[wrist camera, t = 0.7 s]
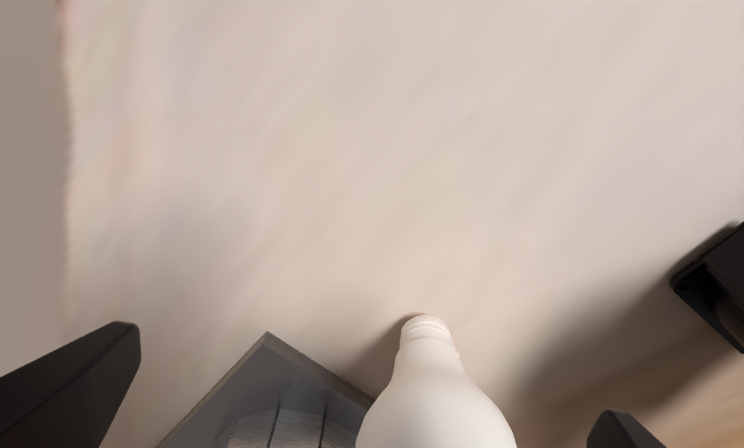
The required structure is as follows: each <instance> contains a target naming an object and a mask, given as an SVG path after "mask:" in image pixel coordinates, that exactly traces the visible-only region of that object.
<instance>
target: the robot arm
mask: <svg viewBox="0 0 744 448" xmlns="http://www.w3.org/2000/svg"><path fill="white" fill-rule="evenodd" d="M684 282H685V284H684V285H682V286H680V284H681V283H684ZM669 286H670V287H671V289H672V290H673V291H674V292H675V293H676V294H677V295H678V296H679V297H680V298H681V299H682V300H684V301H685V302H686V303H687V304H688V305H689V306H690V307H691V308H692V309H693V310H694V311H696V312H697V313H698V314H699V315H700V316H701V317H702V318H703V319H704V320H705V321H706V322H708V323H709V324H710V325H711V326H712V327H713V328H714V329H715V330H716V331H717V332H718V333H720V334H721V335H722V336H723V337H724V338H725V339H726V340H727V341H728V342H729V343H730V344H732V345H733V346H734V347H735V348H736V349H737V350H738V351H739V352H740V353H742V354H744V226H743V227H741V228H740V229H739V230H737V231H736V232H734V233H733V234H732V235H730V236H729V237H728V238H726V239H725V240H723V241H722V242H721V243H719V244H718V245H716V246H715V247H714V248H712V249H711V250H709V251H708V252H707V253H705V254H704V255H703V256H701V257H700V258H698V259H697V260H696V261H694V262H693V263H691V264H690V265H689V266H687V267H686V268H684V269H683V270H682V271H680V272H679V273H677V274H676V275H675V276H673V277H672V278H671V280H670V282H669ZM140 362H141V346H140V331H139V327H138V326H137V325H136V324H134V323H129V322H123V321H113V322H111V323H109V324H107V325H105V326H103V327H101V328H99V329H97V330H95V331H93V332H91V333H89V334H87V335H85V336H83V337H81V338H79V339H76V340H74V341H72V342H70V343H68V344H66V345H64V346H62V347H60V348H58V349H56V350H55V351H52V352H50V353H48V354H46V355H44V356H42V357H40V358H38V359H36V360H34V361H32V362H30V363H28V364H26V365H24V366H22V367H20V368H18V369H16V370H14V371H12V372H10V373H8V374H6V375H4V376H2V377H0V448H99V446H100V444H101V442H102V440H103V439H104V437H105V435H106V433H107V431H108V429H109V427H110V425H111V423H112V421H113V419H114V417H115V415H116V413H117V411H118V409H119V407H120V405H121V403H122V401H123V399H124V397H125V395H126V393H127V391H128V389H129V387H130V385H131V383H132V381H133V379H134V377H135V375H136V373H137V371H138V368H139V365H140ZM586 448H666V447H665V446H664V445H663V444H662V443H661V442H660V441H659V440H658V439H656V438H655V437H654V436H653V435H652V434H651V433H650V432H649V431H648V430H647V429H646V428H645V427H643V426H642V425H641V424H640V423H639V422H638V421H637V420H636V419H635V418H634V417H633V416H631V415H630V414H629V413H627V412H625V411H621V410H615V409H610V408H606V409H604V410H602V411H601V413H600V415H599V416H598V418H597V420H596V422H595V424H594V426H593V427H592V429H591V431H590V433H589V435H588V437H587V443H586Z"/></svg>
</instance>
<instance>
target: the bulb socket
mask: <svg viewBox="0 0 744 448" xmlns="http://www.w3.org/2000/svg"><path fill="white" fill-rule="evenodd" d="M374 402H375V401H374V400H373V399H371V398H370V397H368V396H367V395H365V394H364V393H362V392H360V391H359V390H357V389H356V388H354V387H353V386H351V385H350V384H348V383H347V382H345V381H343V380H342V379H340V378H339V377H337V376H336V375H334V374H333V373H331V372H329V371H328V370H326V369H325V368H323V367H322V366H320V365H319V364H317V363H316V362H314V361H312V360H311V359H309V358H308V357H306V356H305V355H303V354H302V353H300V352H298V351H297V350H295V349H294V348H292V347H291V346H289V345H288V344H286V343H285V342H283V341H281V340H280V339H278V338H277V337H275V336H274V335H272V334H271V333H269V332H266V333H265V334H264V335H263V336H262V337H261V338H260V339H259V340H258V342H257V343H256V344H255V345H254V346H253V347H252V348H251V349H250V350H249V351H248V352H247V353H246V354H245V355H244V356H243V357H242V358H241V359H240V360H239V362H238V363H237V364H236V365H235V366H234V367H233V368H232V369H231V370H230V371H229V372H228V373H227V374H226V375H225V376H224V377H223V378H222V379H221V380H220V382H219V383H218V384H217V385H216V386H215V387H214V388H213V389H212V390H211V391H210V392H209V393H208V394H207V395H206V396H205V397H204V398H203V399H202V400H201V402H200V403H199V404H198V405H197V406H196V407H195V408H194V409H193V410H192V411H191V412H190V413H189V414H188V415H187V416H186V417H185V418H184V419H183V420H182V422H181V423H180V424H179V425H178V426H177V427H176V428H175V429H174V430H173V431H172V432H171V433H170V434H169V435H168V436H167V437H166V438H165V439H164V440H163V441H162V443H161V444H160V445H159V446H158V447H157V448H355V446H356V439H357V436H358V434H359V431H360V428H361V425H362V422H363V420H364V417H365V415H366V414H367V412H368V411H369V409H370V408H371V407H372V405H373V404H374Z"/></svg>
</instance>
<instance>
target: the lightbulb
mask: <svg viewBox="0 0 744 448" xmlns="http://www.w3.org/2000/svg"><path fill="white" fill-rule="evenodd" d="M355 448H517V446H516V442H515V439H514V435H513V432H512V430H511V428H510V427H509V425H508V423H507V421H506V419H505V418H504V416H503V414H502V413H501V411H500V410H499V408H498V407H497V406H496V405H495V404H494V403H493V402H492V401H491V400H490V399H489V398H488V397H487V396H486V395H485V394H484V393H483V392H482V391H481V390H480V389H479V388H478V387H477V386H476V385H474V384H473V383H472V382H471V381H470V380H469V378H468V377H467V376H466V373H465V371H464V369H463V366H462V363H461V359H460V356H459V354H458V352H457V351H456V349H455V348H454V347H453V343H452V338H451V335H450V332H449V329H448V326H447V325H446V323H445V322H444V321H442V320H441V319H439V318H437V317H435V316H431V315H420V316H416V317H414V318H411V319H410V320H408V321H407V322H406V323H405V324H404V326H403V327H402V330H401V337H400V349H399V351H398V353H397V355H396V358H395V363H394V372H393V375H392V379H391V381H390V383H389V385H388V386H387V387H386V389H385V390H384V391H383V392H382V393H381V394H380V395H379V397H378V398H377V400H376V401H375V402H374V404H373V405H372V407H371V408H370V409H369V411H368V412H367V414H366V415H365V417H364V420H363V422H362V425H361V428H360V431H359V434H358V436H357V439H356V446H355Z"/></svg>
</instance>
